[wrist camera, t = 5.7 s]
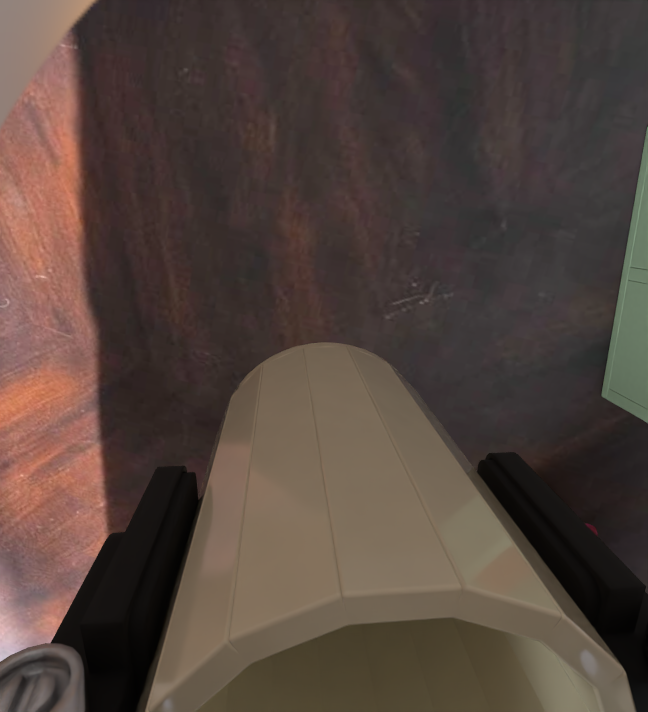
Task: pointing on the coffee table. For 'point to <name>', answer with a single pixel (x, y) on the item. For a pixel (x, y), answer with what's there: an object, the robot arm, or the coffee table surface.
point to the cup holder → (632, 313)
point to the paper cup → (362, 565)
